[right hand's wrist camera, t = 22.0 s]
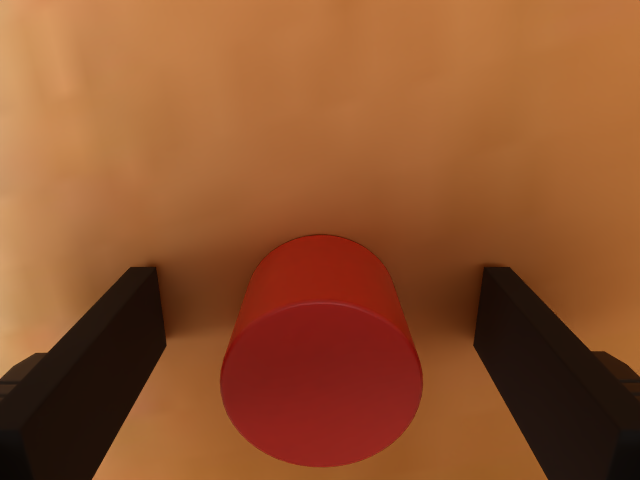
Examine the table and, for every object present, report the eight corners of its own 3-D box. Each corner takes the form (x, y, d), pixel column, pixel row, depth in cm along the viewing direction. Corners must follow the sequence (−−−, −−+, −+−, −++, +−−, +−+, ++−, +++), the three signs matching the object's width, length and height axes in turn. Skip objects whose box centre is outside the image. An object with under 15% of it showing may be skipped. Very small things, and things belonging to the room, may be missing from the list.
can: (275, 381, 15) (260, 487, 11) (224, 259, 14) (186, 333, 10) (410, 345, 15) (443, 443, 11) (373, 214, 13) (395, 274, 9)
